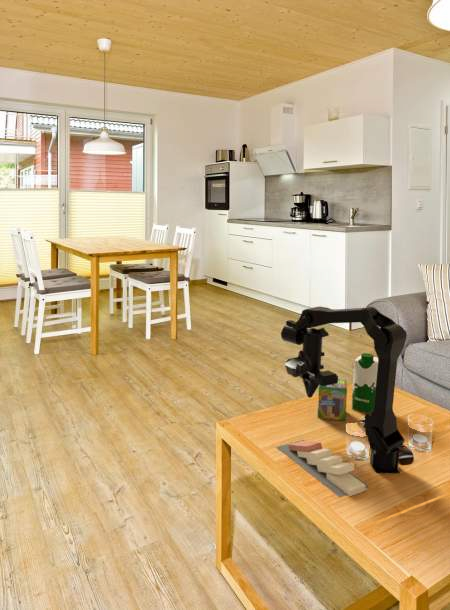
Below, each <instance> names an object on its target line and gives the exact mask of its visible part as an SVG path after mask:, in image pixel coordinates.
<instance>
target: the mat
mask: <svg viewBox="0 0 450 610" xmlns="http://www.w3.org/2000/svg"><path fill="white" fill-rule="evenodd" d="M300 441H305V439H302V440H301V439H300V440H297V441H294V442H290V443H286V444H283V445H279V446H275V447H276V449H278V451H280V452H281V453H283V454H284V455H285V456H286V457H288V459H290V460H291V461H292V462H293V463H295V464H296V465H298V466H299V467H301V468H302V469H303V470H304V471H306V472H307V473H308V474H309V475H311V476H312V477H314V479H316V480H317V481H318V482H320V483H321V484H322V485H324V486H325V487H326V488H327V489H328V490H330V491H332V492H333V493H334V494H335V495H337V496H338V497H339V498H342V497H343V496H347V495H348V494H346V493H345V492H344V491H342V490H341V489H340V488H338V487H337V486H336V485H335V484H333V483H332V482H331V481H329V480H328V479H327V478H326V476H327V473H325V472H318V469H317V465H311V464H308V463H307V458H303V457H298V453H297V451H292V450H289V444H293V443H296V442H300ZM348 473H349V474H351V475H352V476H353V477H355V478H356V479H358V480H359V481H361V482H362V483H363V484H365V485H366V487H365V489H368V488H370V487H371V486H370V485H369V484H368V483H366V482H364V481H363V480H362V479H360V478H359V477H358V476H356V475H355V474H353V473H352V472H351V471H349V472H348Z"/></svg>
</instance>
